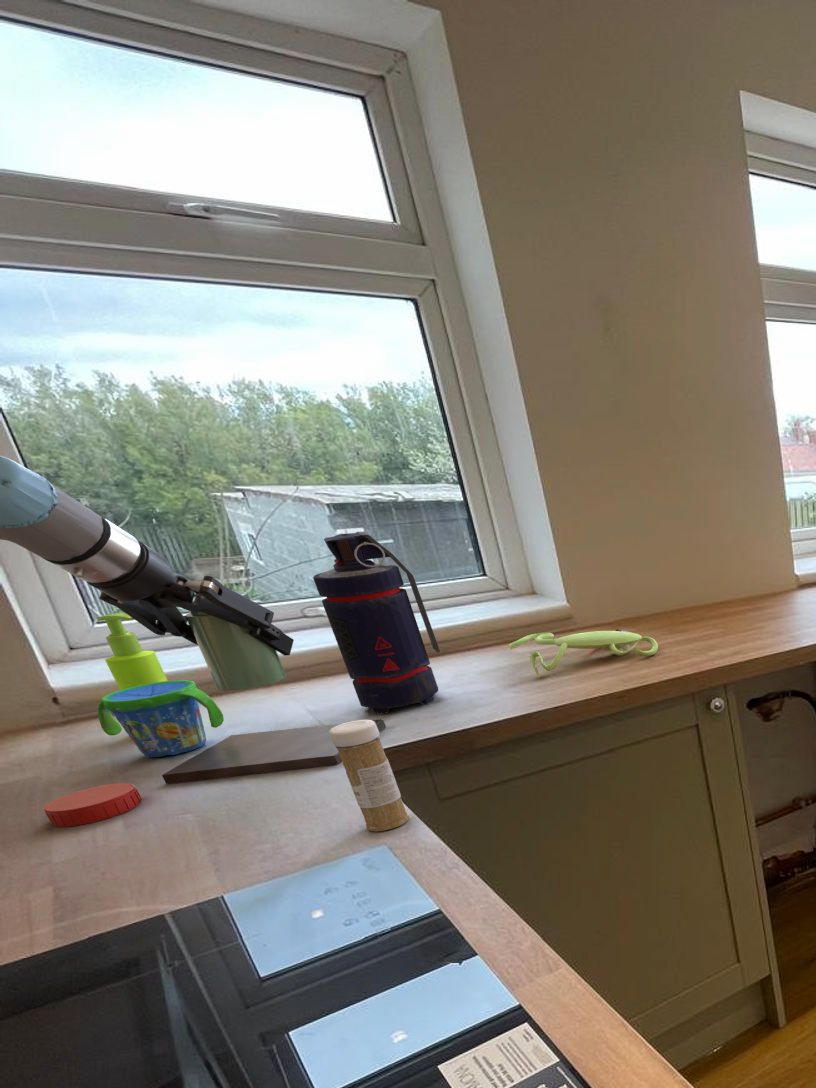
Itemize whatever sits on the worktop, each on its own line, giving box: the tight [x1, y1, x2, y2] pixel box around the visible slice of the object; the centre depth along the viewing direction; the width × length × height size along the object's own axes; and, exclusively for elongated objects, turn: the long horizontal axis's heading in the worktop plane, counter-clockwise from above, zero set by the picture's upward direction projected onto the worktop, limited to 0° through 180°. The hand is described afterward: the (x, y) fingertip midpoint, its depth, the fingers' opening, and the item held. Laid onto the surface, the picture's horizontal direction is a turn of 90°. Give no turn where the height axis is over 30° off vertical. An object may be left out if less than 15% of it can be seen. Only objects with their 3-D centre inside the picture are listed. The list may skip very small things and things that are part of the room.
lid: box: [43, 782, 143, 828], centre depth 109 cm, size 9×9×2 cm
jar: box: [184, 590, 287, 692], centre depth 119 cm, size 8×8×13 cm
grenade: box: [312, 531, 441, 715], centre depth 142 cm, size 14×12×30 cm
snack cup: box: [97, 679, 225, 758], centre depth 128 cm, size 16×10×10 cm
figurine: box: [508, 628, 659, 678], centre depth 169 cm, size 18×27×6 cm
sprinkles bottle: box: [329, 719, 410, 832], centre depth 99 cm, size 5×5×13 cm
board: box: [161, 718, 387, 785], centre depth 126 cm, size 22×16×2 cm
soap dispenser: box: [96, 612, 169, 690], centre depth 136 cm, size 6×7×20 cm
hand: (258, 649), depth 123 cm, fingers closed on jar, 8 cm apart
